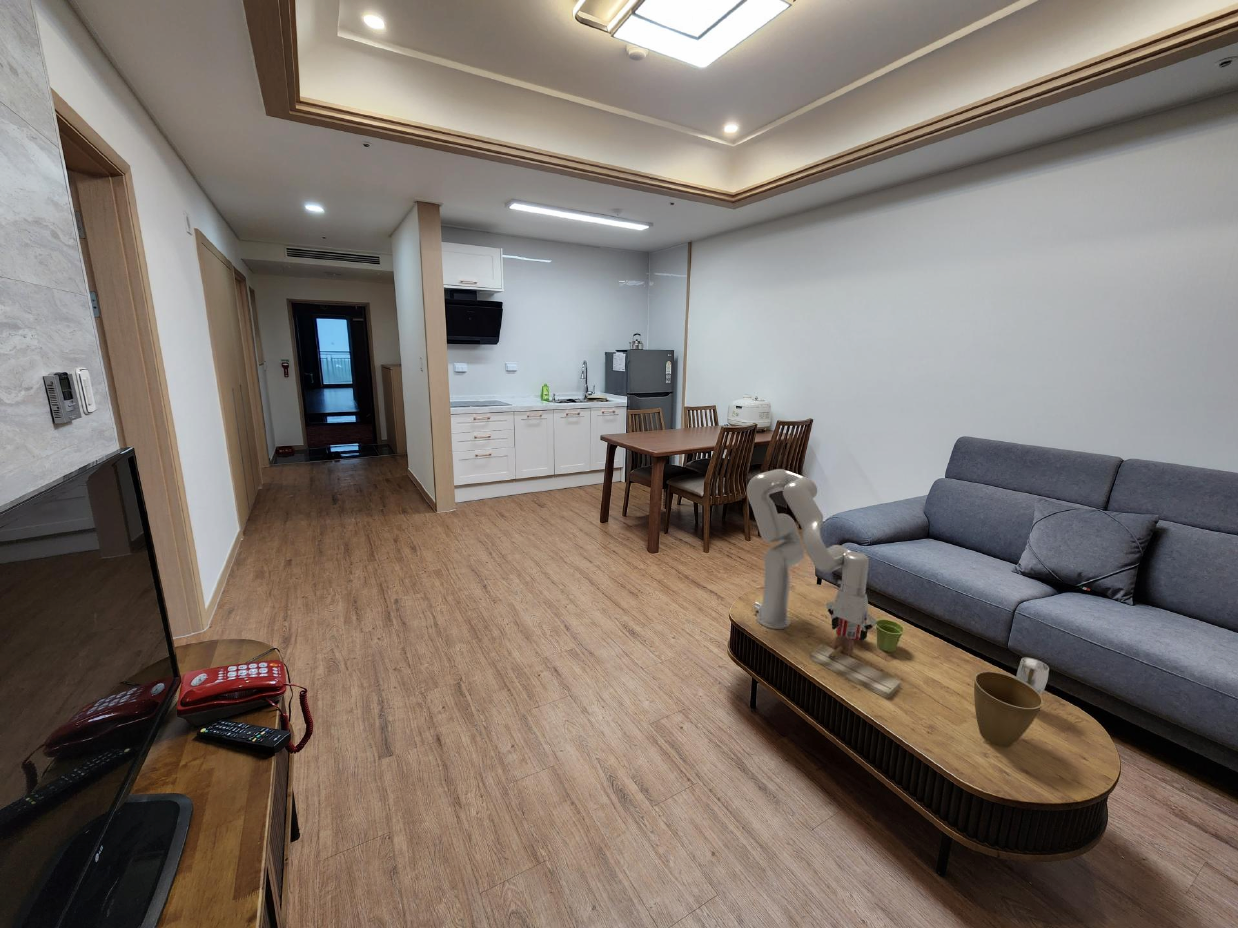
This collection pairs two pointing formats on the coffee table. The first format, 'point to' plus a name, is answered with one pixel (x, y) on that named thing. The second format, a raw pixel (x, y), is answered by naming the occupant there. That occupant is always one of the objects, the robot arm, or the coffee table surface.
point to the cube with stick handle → (842, 646)
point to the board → (856, 671)
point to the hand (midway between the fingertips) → (848, 633)
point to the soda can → (848, 629)
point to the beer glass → (1033, 673)
